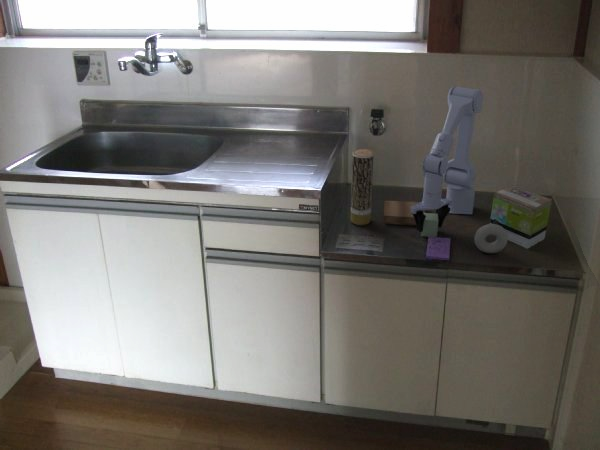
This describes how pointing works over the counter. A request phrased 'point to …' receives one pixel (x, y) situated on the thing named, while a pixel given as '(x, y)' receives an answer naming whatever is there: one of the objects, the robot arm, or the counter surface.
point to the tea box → (521, 215)
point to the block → (430, 225)
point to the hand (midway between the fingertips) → (429, 228)
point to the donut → (491, 230)
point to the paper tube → (361, 186)
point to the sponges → (438, 248)
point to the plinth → (399, 212)
